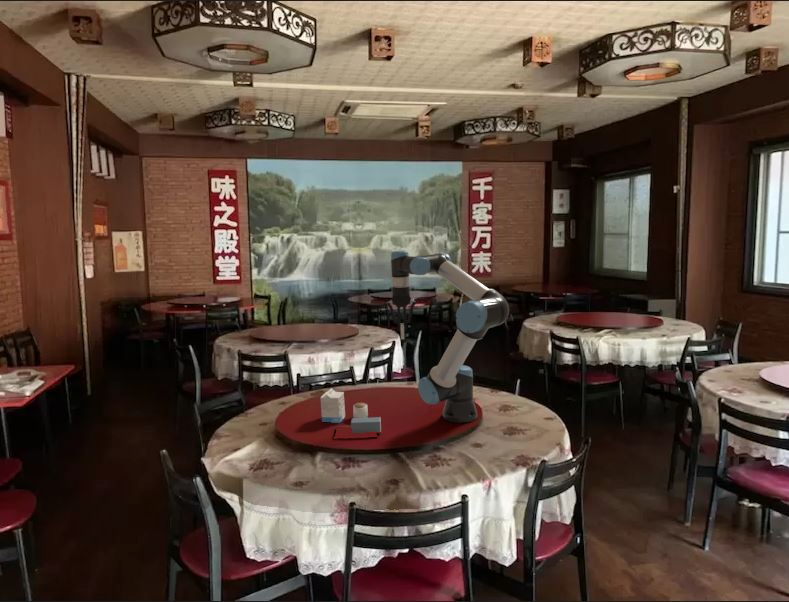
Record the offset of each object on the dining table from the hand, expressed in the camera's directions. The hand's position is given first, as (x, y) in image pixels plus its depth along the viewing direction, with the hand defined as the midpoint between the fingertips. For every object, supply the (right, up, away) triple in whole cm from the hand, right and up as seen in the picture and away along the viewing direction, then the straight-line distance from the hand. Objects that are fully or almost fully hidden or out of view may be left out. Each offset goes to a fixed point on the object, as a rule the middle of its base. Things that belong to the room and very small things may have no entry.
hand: (402, 338), depth 262 cm
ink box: (-31, -36, 0) cm, 48 cm away
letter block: (-9, -35, -16) cm, 40 cm away
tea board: (-20, -39, -15) cm, 46 cm away
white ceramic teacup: (-19, -36, +1) cm, 40 cm away
